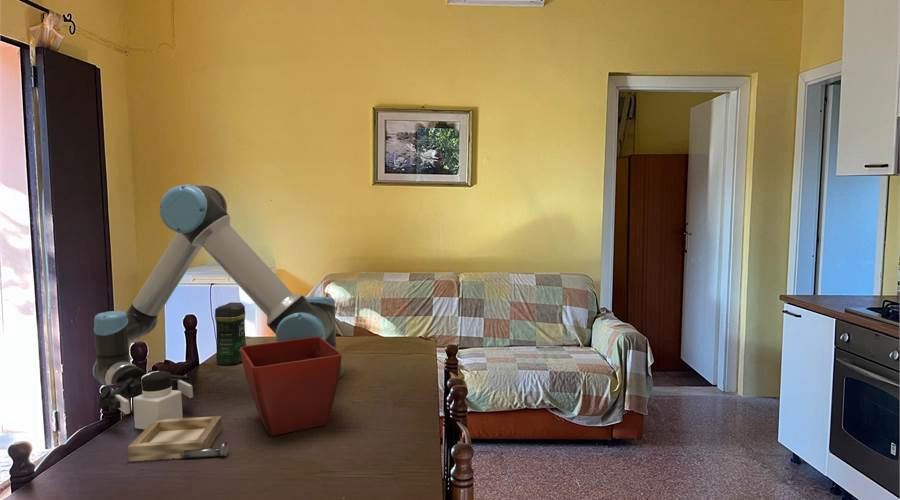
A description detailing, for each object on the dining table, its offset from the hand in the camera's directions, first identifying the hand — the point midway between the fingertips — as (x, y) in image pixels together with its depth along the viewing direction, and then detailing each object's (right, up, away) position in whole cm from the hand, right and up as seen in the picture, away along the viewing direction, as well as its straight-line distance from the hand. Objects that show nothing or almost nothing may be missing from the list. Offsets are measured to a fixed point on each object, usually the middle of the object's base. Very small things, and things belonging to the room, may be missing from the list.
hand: (160, 399), depth 130 cm
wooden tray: (+8, -7, -9) cm, 14 cm away
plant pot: (+29, -6, +3) cm, 30 cm away
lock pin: (+16, -8, -15) cm, 23 cm away
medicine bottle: (-1, -7, +2) cm, 7 cm away
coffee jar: (-4, -2, +53) cm, 53 cm away
